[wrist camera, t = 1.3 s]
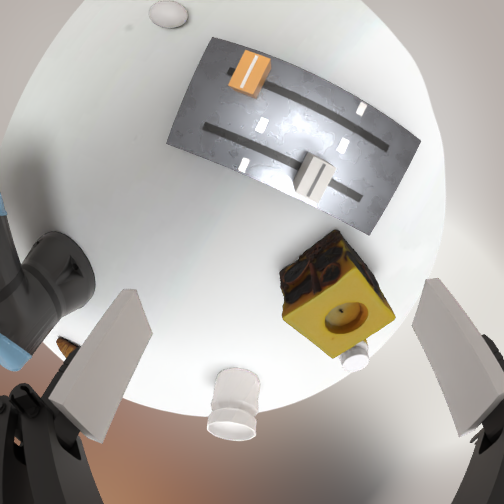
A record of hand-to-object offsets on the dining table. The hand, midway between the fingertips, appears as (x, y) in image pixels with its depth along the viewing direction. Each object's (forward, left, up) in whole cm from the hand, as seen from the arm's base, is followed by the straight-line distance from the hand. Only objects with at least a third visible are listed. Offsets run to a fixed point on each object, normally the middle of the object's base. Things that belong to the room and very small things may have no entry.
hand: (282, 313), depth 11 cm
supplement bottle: (+20, -15, -24) cm, 34 cm away
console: (-1, +7, -23) cm, 24 cm away
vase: (+10, -37, -24) cm, 45 cm away
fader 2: (+2, +4, -21) cm, 21 cm away
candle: (+12, -8, -24) cm, 28 cm away
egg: (-21, +16, -24) cm, 36 cm away
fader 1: (-8, +11, -21) cm, 25 cm away
